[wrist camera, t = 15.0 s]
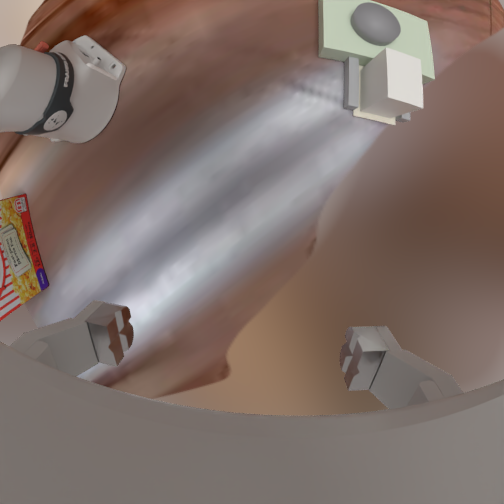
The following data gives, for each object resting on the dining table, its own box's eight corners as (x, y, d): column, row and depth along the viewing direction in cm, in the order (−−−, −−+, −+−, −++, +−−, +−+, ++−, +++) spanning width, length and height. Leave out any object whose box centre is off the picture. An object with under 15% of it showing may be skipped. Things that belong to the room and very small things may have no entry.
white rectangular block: (389, 118, 33) (423, 108, 24) (360, 111, 33) (387, 97, 24) (389, 78, 31) (420, 59, 22) (360, 70, 31) (385, 47, 22)
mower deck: (422, 133, 34) (445, 131, 28) (316, 109, 34) (326, 99, 28) (416, 29, 27) (433, 16, 21) (318, 1, 28) (325, -20, 21)
